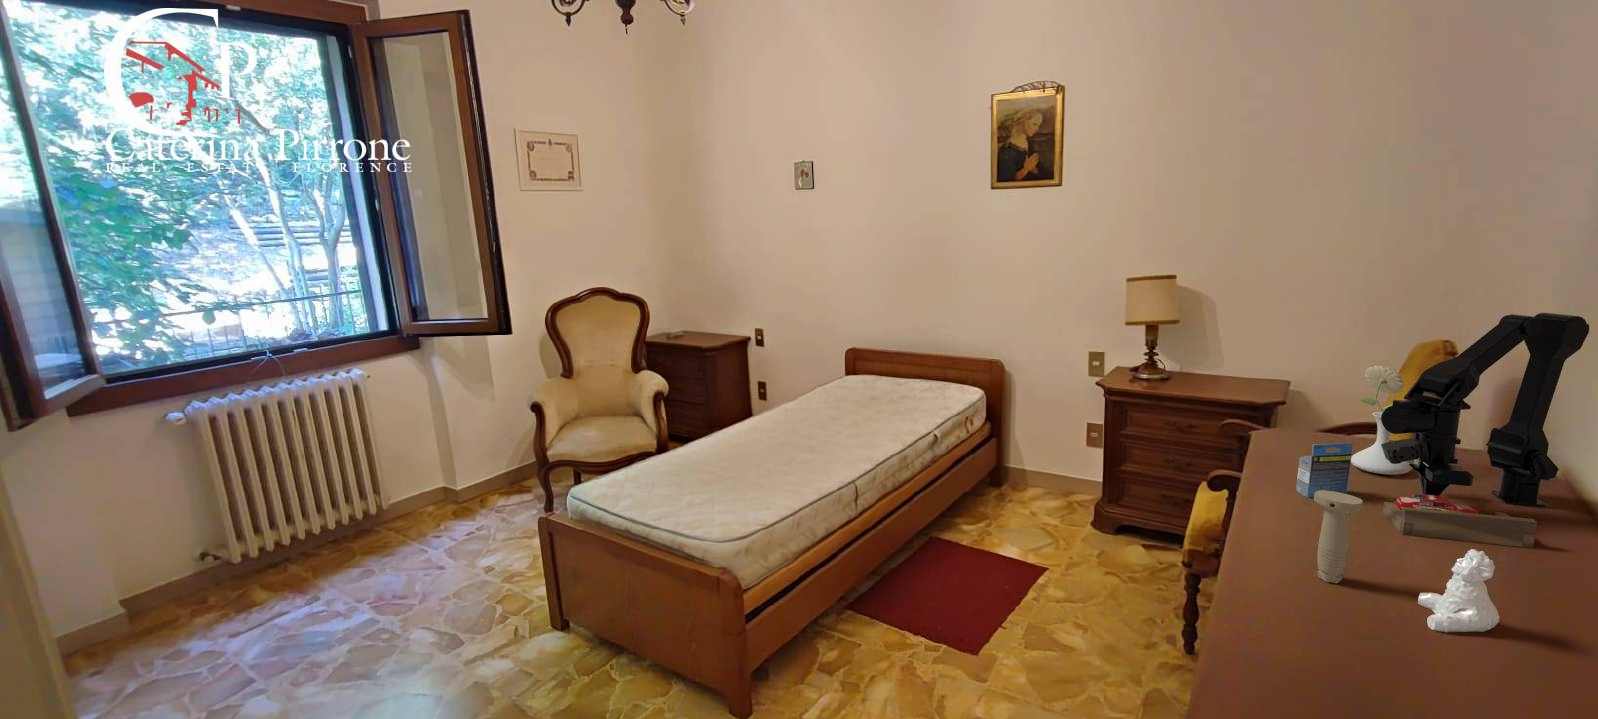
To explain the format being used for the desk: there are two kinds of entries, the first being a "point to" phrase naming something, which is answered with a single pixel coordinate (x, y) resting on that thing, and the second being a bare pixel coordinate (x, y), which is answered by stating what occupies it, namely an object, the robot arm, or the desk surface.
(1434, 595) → the seated beast figurine
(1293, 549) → the desk surface
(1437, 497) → the race car
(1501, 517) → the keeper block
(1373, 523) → the desk surface
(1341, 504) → the handle
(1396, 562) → the desk surface
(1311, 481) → the label tape box
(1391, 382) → the flower in vase
